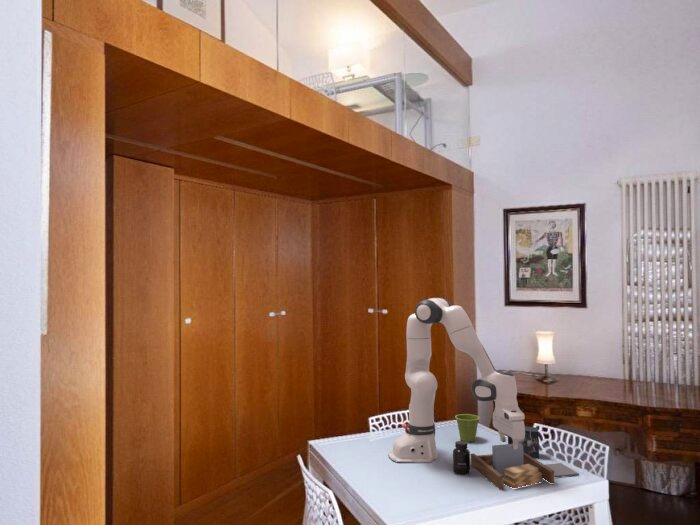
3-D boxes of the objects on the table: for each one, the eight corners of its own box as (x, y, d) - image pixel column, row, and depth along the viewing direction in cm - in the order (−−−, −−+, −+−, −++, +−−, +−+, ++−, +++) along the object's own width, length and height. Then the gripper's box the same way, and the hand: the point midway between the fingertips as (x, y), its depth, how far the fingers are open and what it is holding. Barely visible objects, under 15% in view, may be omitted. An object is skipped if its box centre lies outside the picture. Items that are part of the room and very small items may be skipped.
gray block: (496, 475, 200) (495, 447, 200) (493, 473, 203) (492, 445, 203) (524, 473, 202) (523, 445, 202) (520, 470, 205) (519, 443, 205)
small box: (507, 456, 222) (507, 428, 223) (508, 451, 228) (507, 424, 229) (539, 459, 218) (538, 431, 218) (539, 454, 224) (538, 427, 225)
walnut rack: (499, 489, 186) (499, 476, 186) (471, 465, 211) (470, 453, 211) (554, 484, 190) (554, 470, 190) (519, 461, 215) (519, 449, 215)
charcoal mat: (551, 478, 196) (551, 476, 196) (534, 467, 208) (534, 465, 208) (579, 475, 198) (578, 473, 198) (560, 464, 210) (560, 463, 210)
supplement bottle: (460, 476, 199) (459, 446, 200) (449, 471, 205) (448, 441, 206) (473, 473, 202) (473, 443, 203) (462, 468, 208) (461, 439, 209)
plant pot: (483, 443, 240) (482, 419, 240) (458, 444, 240) (457, 420, 240) (477, 436, 252) (476, 413, 252) (453, 436, 252) (453, 414, 252)
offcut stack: (514, 490, 186) (513, 473, 186) (503, 484, 191) (502, 468, 192) (542, 483, 191) (542, 467, 192) (531, 478, 197) (530, 462, 197)
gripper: (487, 405, 213) (489, 438, 212) (512, 417, 193) (514, 454, 192) (501, 404, 214) (503, 436, 213) (527, 416, 194) (529, 452, 193)
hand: (508, 445), depth 203 cm, fingers open, 8 cm apart
